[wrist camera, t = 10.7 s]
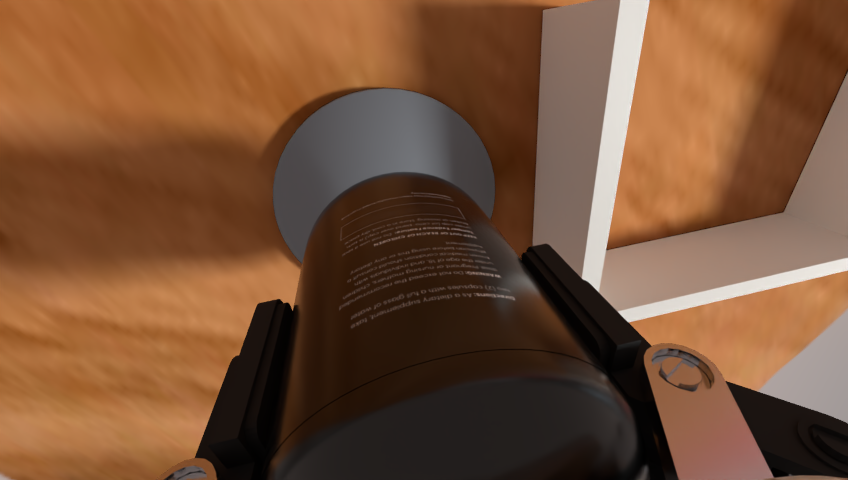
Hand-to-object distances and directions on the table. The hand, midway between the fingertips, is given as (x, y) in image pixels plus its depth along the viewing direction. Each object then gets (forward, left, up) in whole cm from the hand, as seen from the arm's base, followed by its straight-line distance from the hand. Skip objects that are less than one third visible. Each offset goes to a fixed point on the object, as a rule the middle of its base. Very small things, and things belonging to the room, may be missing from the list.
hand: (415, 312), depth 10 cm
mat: (0, 0, -9) cm, 9 cm away
